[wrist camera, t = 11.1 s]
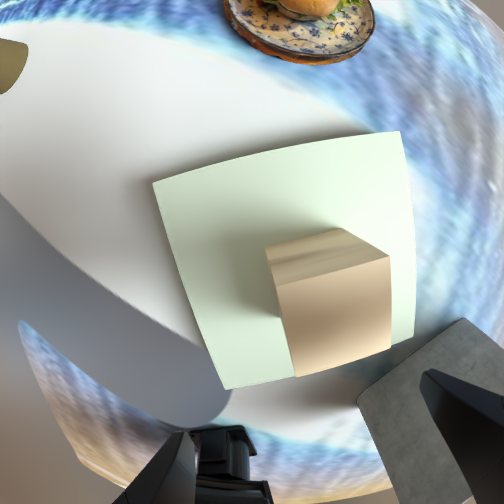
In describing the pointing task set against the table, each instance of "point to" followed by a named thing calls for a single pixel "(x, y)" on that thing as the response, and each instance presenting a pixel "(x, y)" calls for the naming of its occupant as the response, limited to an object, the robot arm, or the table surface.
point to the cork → (11, 62)
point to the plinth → (282, 238)
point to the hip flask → (428, 414)
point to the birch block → (331, 299)
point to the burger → (304, 27)
